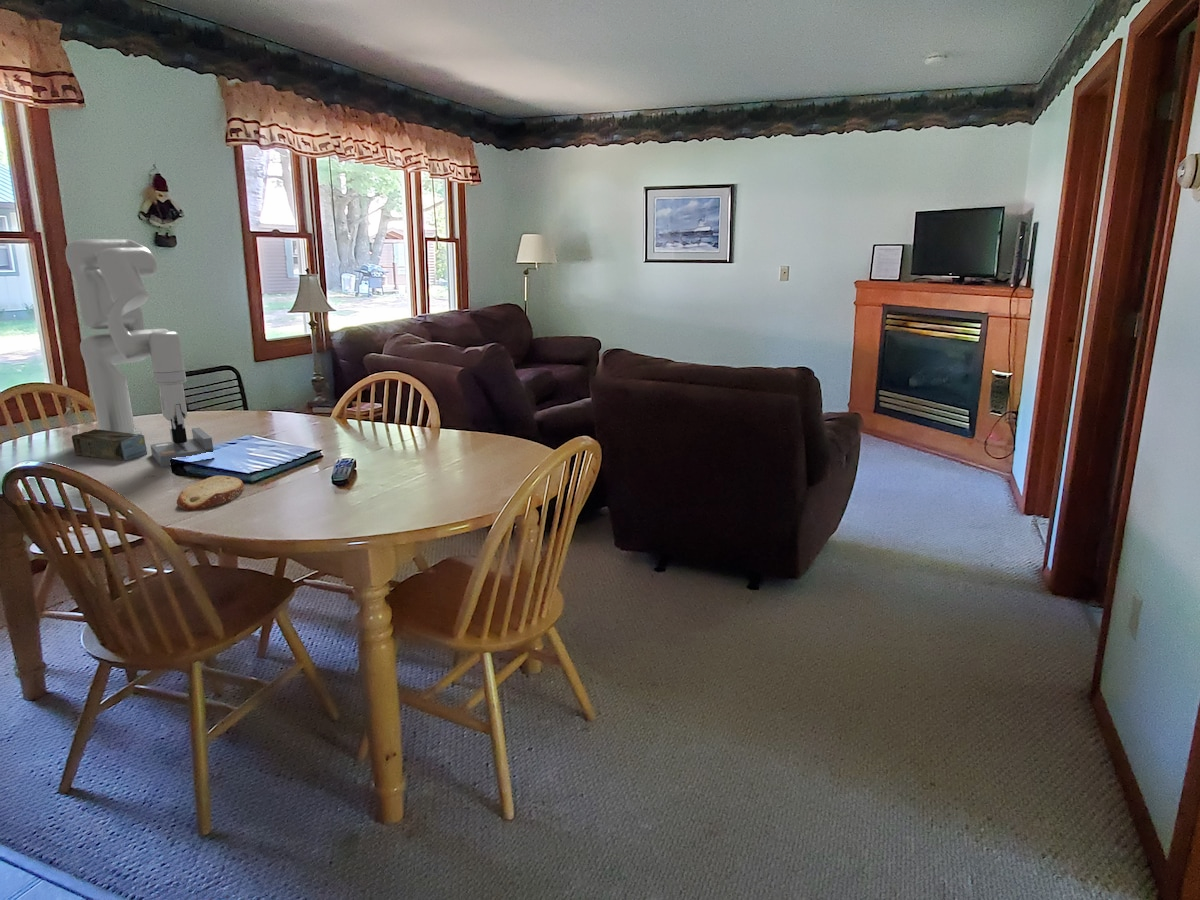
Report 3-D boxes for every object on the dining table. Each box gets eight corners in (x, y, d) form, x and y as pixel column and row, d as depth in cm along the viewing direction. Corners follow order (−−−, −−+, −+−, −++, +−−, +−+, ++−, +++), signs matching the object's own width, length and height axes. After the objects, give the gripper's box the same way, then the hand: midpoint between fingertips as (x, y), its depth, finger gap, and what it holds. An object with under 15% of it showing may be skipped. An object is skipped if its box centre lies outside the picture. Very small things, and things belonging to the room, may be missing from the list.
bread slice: (231, 481, 198) (229, 466, 197) (266, 495, 187) (264, 480, 186) (155, 498, 185) (152, 483, 184) (188, 515, 174) (186, 499, 173)
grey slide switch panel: (151, 455, 222) (148, 434, 220) (202, 447, 229) (199, 427, 228) (162, 467, 210) (158, 445, 208) (214, 458, 217) (211, 437, 216)
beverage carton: (123, 462, 216) (119, 438, 214) (73, 456, 222) (69, 434, 221) (148, 454, 223) (144, 432, 222) (99, 449, 230) (95, 427, 228)
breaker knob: (171, 442, 222) (169, 426, 221) (183, 440, 224) (181, 425, 222) (173, 444, 220) (170, 428, 219) (185, 442, 222) (182, 426, 220)
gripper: (150, 375, 217) (160, 439, 222) (159, 382, 206) (170, 450, 211) (180, 372, 222) (189, 435, 227) (191, 379, 210) (200, 445, 215)
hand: (180, 442), depth 219 cm, fingers closed
